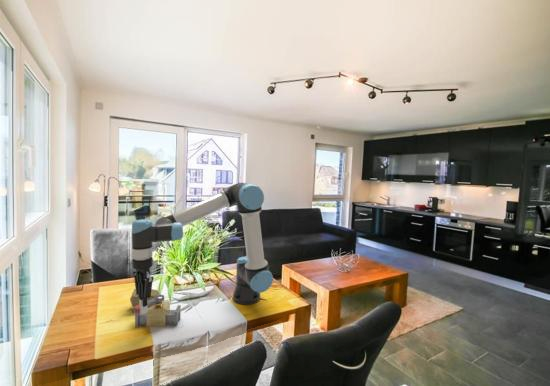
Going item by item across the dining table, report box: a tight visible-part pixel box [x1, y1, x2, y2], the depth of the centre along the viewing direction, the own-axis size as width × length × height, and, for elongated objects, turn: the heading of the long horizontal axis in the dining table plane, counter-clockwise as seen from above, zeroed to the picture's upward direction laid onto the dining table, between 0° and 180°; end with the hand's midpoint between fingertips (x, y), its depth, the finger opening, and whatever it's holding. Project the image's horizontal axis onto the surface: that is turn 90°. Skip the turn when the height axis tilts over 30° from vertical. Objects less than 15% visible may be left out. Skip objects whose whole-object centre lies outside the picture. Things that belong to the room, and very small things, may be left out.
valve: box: [134, 301, 182, 328], centre depth 126 cm, size 18×7×10 cm, turn 96°
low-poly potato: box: [129, 288, 161, 308], centre depth 139 cm, size 15×11×12 cm
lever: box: [132, 294, 165, 315], centre depth 121 cm, size 14×5×2 cm, turn 155°
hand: (143, 312), depth 115 cm, fingers closed
